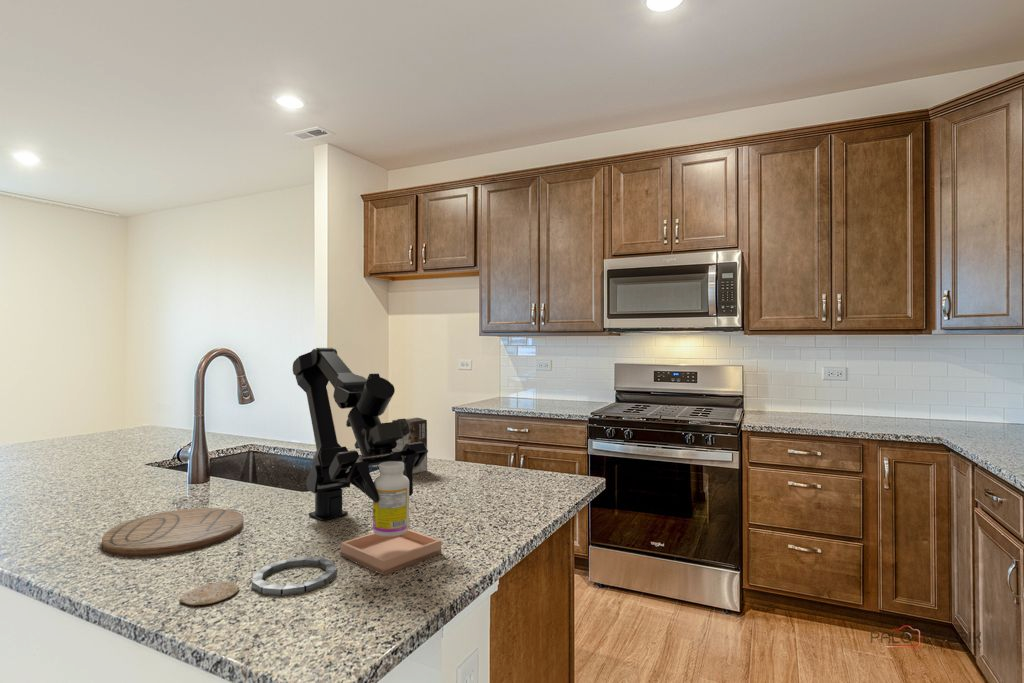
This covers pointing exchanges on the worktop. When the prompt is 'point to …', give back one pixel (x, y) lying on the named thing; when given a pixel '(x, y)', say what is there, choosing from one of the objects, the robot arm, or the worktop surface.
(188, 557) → the worktop surface
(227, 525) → the trivet
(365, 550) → the tray
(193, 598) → the flatbread
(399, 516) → the supplement bottle
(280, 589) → the seat ring
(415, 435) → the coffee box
